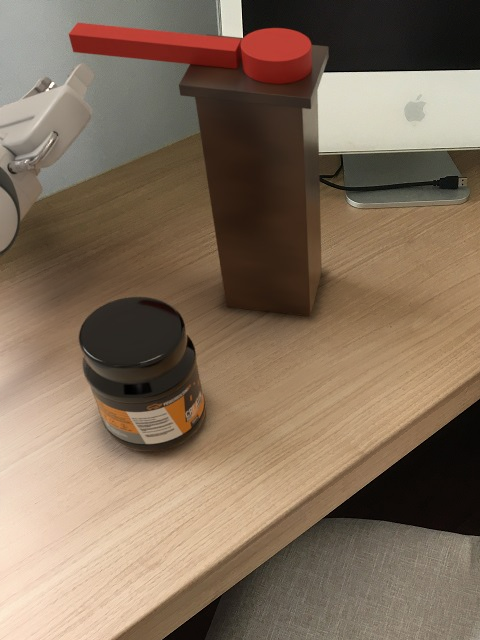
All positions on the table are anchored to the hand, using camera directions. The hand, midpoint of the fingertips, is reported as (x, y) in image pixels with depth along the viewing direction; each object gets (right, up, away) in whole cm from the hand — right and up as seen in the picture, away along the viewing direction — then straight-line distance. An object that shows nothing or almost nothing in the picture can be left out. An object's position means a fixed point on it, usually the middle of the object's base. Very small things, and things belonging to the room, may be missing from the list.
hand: (67, 76), depth 85 cm
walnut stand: (+21, -21, +9) cm, 31 cm away
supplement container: (+11, -38, -4) cm, 39 cm away
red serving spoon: (+17, -5, -12) cm, 21 cm away
